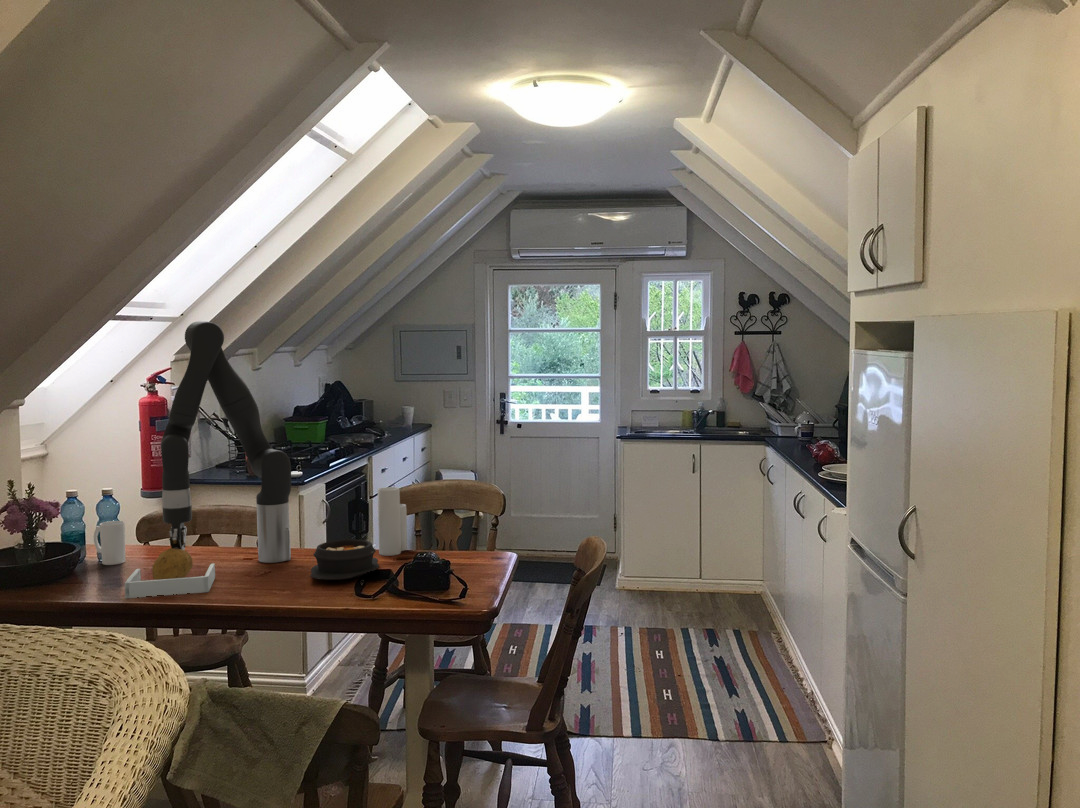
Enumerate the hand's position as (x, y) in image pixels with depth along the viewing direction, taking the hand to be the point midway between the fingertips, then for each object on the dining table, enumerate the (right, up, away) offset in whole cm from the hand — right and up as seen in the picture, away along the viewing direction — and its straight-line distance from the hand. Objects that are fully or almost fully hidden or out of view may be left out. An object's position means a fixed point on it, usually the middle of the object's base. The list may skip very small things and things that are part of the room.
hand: (179, 565), depth 243 cm
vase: (+56, -1, +25) cm, 61 cm away
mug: (-28, -2, +16) cm, 32 cm away
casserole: (+47, -2, -2) cm, 47 cm away
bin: (+4, -3, -13) cm, 14 cm away
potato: (+2, -3, -9) cm, 9 cm away
